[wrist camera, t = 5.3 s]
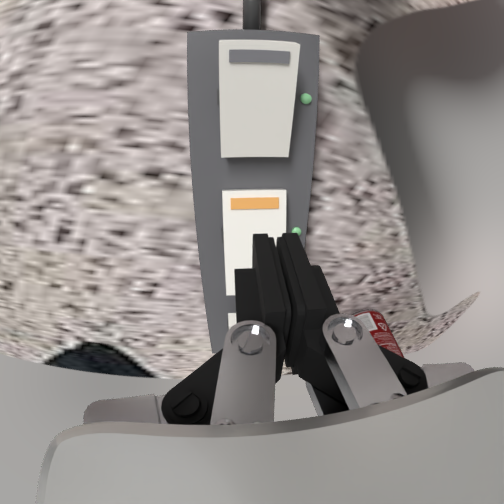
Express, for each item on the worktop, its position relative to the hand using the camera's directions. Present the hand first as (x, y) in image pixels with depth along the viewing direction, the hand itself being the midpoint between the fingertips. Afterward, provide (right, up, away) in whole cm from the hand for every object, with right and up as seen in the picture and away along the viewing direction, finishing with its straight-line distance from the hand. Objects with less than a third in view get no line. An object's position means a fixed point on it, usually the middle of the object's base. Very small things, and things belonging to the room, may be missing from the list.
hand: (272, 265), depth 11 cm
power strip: (-1, +7, +11) cm, 13 cm away
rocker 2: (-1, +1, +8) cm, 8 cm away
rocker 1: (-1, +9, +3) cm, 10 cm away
